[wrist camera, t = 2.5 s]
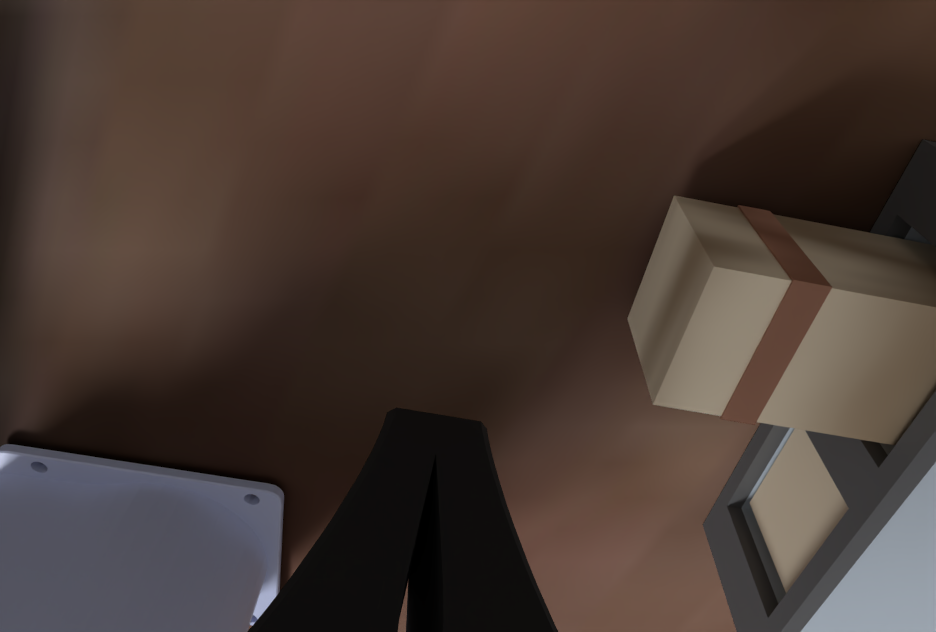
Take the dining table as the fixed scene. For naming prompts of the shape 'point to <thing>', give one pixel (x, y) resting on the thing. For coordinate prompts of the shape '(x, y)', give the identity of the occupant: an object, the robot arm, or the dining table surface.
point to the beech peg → (787, 322)
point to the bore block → (837, 502)
